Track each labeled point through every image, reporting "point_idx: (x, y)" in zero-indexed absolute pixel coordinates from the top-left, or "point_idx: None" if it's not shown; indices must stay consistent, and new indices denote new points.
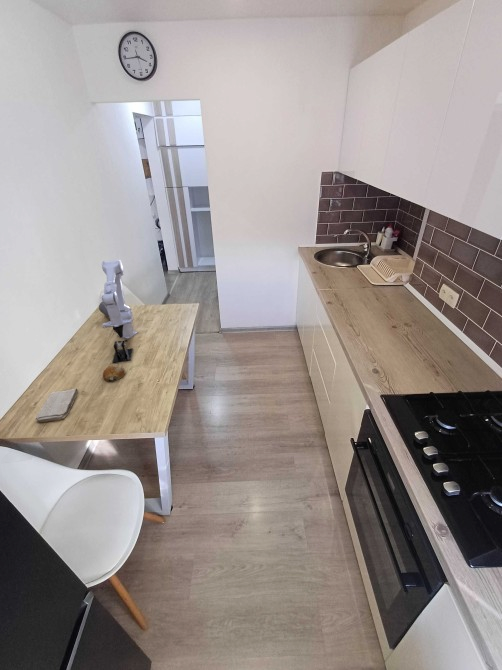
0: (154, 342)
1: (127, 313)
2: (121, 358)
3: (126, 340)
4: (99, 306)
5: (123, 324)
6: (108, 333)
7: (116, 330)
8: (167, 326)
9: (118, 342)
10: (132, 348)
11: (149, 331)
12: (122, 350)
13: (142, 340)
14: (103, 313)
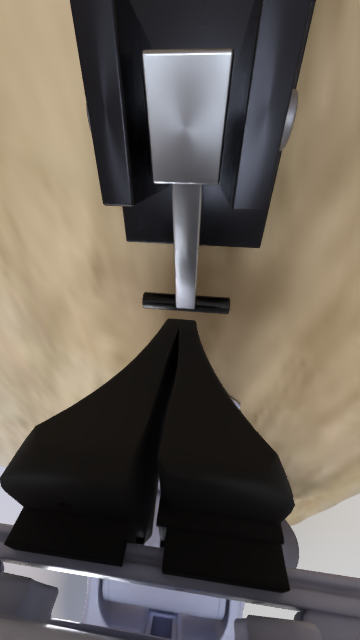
0: (12, 284)
1: (111, 581)
2: (207, 43)
3: (150, 299)
4: (297, 559)
5: (11, 536)
6: (279, 428)
7: (201, 417)
8: (15, 393)
9: (225, 298)
10: (126, 236)
11: (85, 386)
12: (204, 231)
13: (97, 327)
14: (284, 522)
